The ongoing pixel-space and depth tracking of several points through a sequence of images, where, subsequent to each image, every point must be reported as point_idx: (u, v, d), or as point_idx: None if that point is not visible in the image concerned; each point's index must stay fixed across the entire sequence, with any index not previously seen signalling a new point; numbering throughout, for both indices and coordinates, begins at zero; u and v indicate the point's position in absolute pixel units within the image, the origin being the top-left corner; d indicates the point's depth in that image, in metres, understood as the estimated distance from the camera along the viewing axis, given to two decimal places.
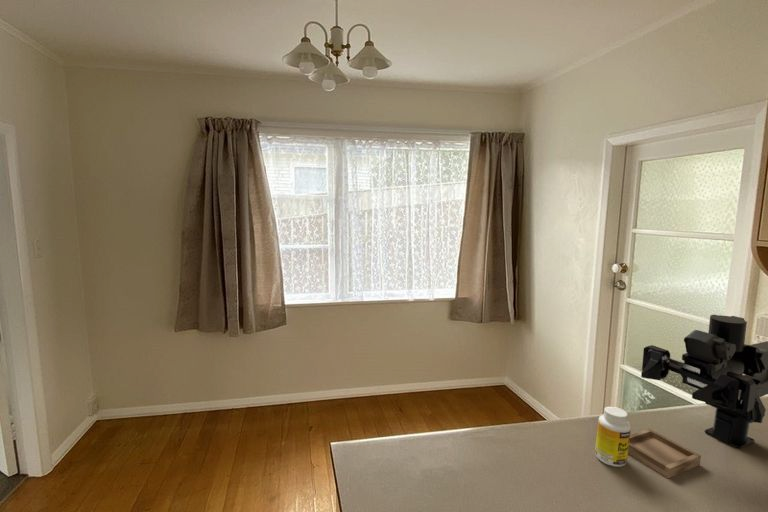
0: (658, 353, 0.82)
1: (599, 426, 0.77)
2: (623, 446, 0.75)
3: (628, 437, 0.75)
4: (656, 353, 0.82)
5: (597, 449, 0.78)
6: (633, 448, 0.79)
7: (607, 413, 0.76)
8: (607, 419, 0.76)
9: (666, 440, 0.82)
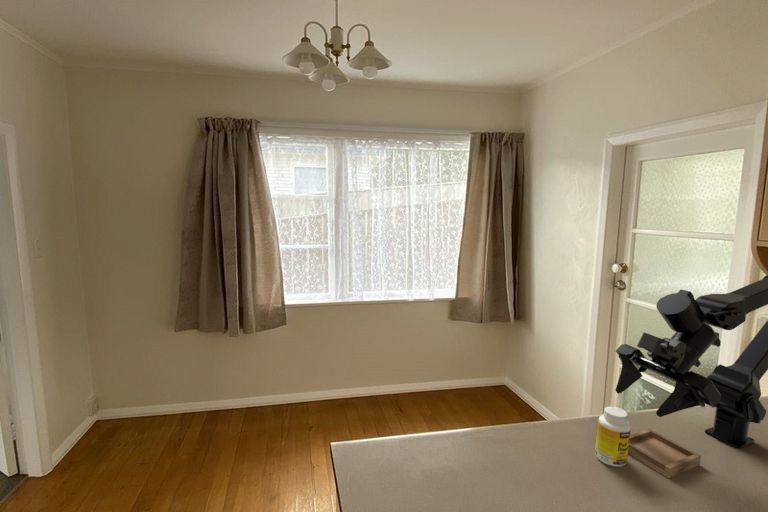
0: (626, 359, 0.83)
1: (599, 426, 0.77)
2: (623, 446, 0.75)
3: (628, 437, 0.75)
4: (624, 359, 0.83)
5: (597, 449, 0.78)
6: (633, 448, 0.79)
7: (607, 413, 0.76)
8: (607, 419, 0.76)
9: (666, 440, 0.82)
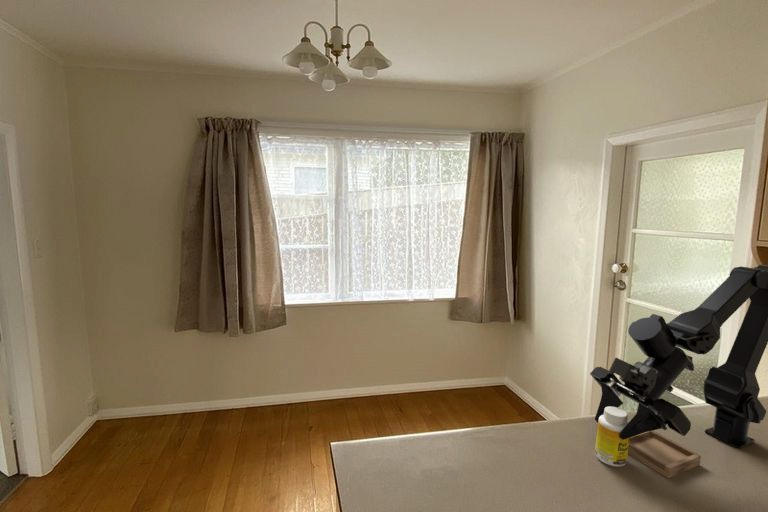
0: (606, 386, 0.81)
1: (599, 426, 0.77)
2: (623, 446, 0.75)
3: None
4: (604, 386, 0.81)
5: (597, 449, 0.78)
6: (633, 448, 0.79)
7: (607, 413, 0.76)
8: (607, 419, 0.76)
9: (666, 440, 0.82)
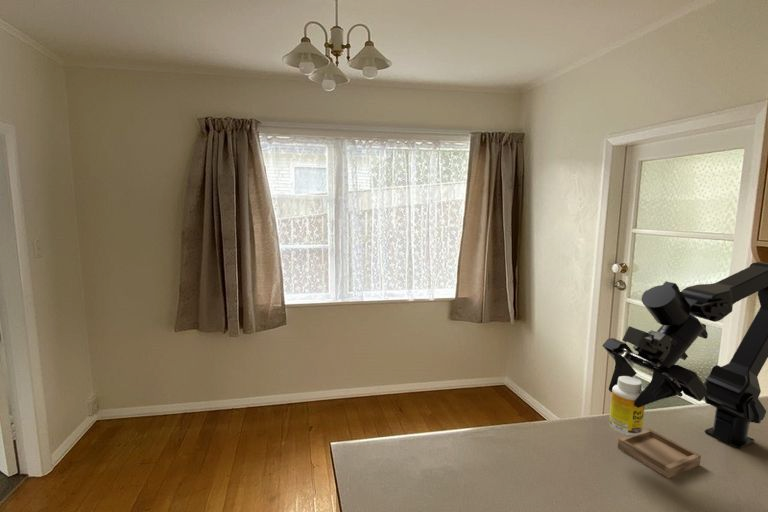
0: (619, 356, 0.80)
1: (613, 395, 0.77)
2: (638, 414, 0.74)
3: None
4: (617, 356, 0.80)
5: (611, 419, 0.77)
6: (633, 448, 0.79)
7: (621, 382, 0.76)
8: (621, 388, 0.76)
9: (666, 440, 0.82)
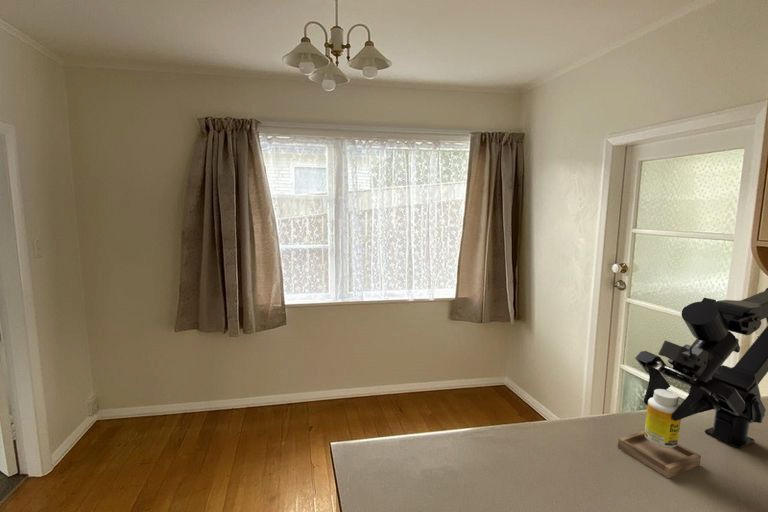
0: (653, 369, 0.82)
1: (649, 408, 0.78)
2: (675, 427, 0.76)
3: None
4: (652, 369, 0.82)
5: (647, 431, 0.79)
6: (633, 448, 0.79)
7: (658, 395, 0.77)
8: (658, 401, 0.77)
9: None
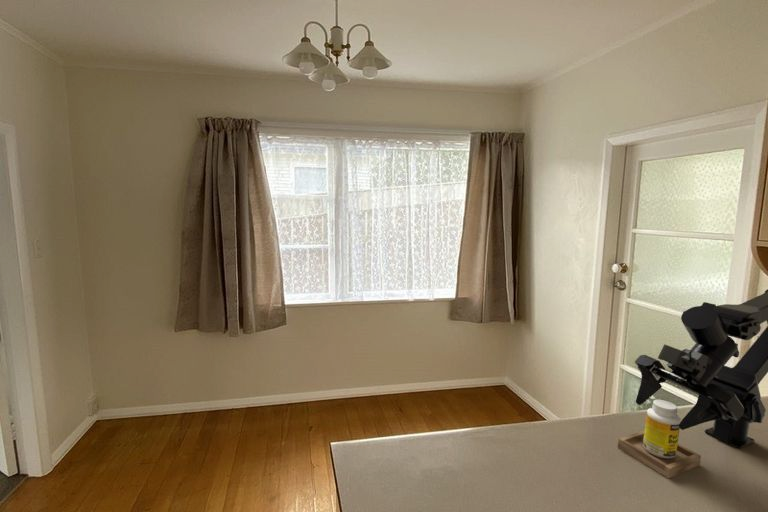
0: (645, 370, 0.83)
1: (648, 419, 0.79)
2: (674, 438, 0.76)
3: (678, 429, 0.76)
4: (644, 370, 0.84)
5: (646, 441, 0.79)
6: (633, 448, 0.79)
7: (657, 406, 0.77)
8: (657, 412, 0.78)
9: None
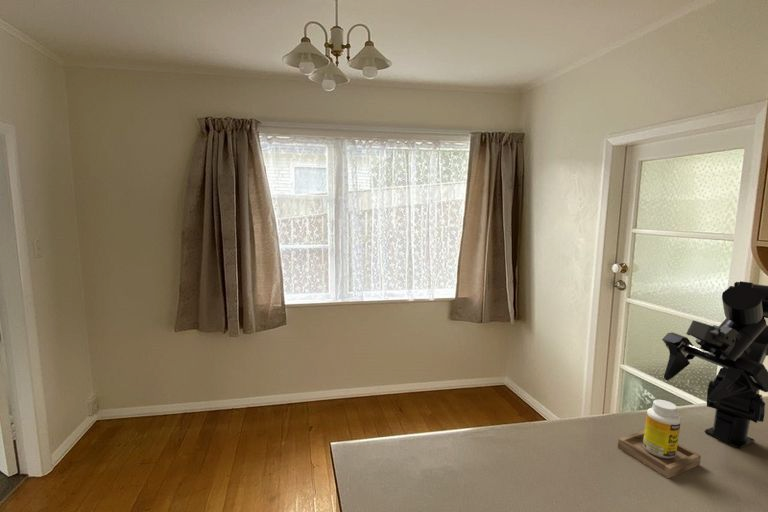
0: (674, 346, 0.85)
1: (648, 419, 0.79)
2: (674, 438, 0.76)
3: (678, 429, 0.76)
4: (672, 346, 0.85)
5: (646, 441, 0.79)
6: (633, 448, 0.79)
7: (657, 406, 0.77)
8: (657, 412, 0.78)
9: None
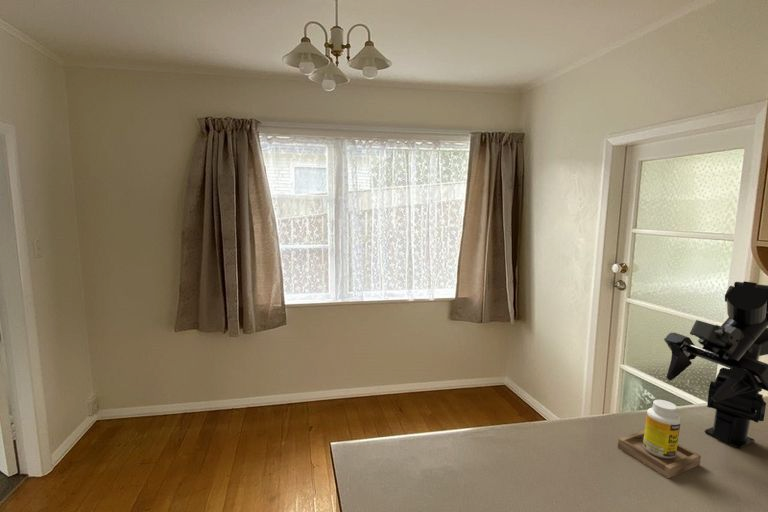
0: (676, 346, 0.85)
1: (648, 419, 0.79)
2: (674, 438, 0.76)
3: (678, 429, 0.76)
4: (674, 346, 0.85)
5: (646, 441, 0.79)
6: (633, 448, 0.79)
7: (657, 406, 0.77)
8: (657, 412, 0.78)
9: None
